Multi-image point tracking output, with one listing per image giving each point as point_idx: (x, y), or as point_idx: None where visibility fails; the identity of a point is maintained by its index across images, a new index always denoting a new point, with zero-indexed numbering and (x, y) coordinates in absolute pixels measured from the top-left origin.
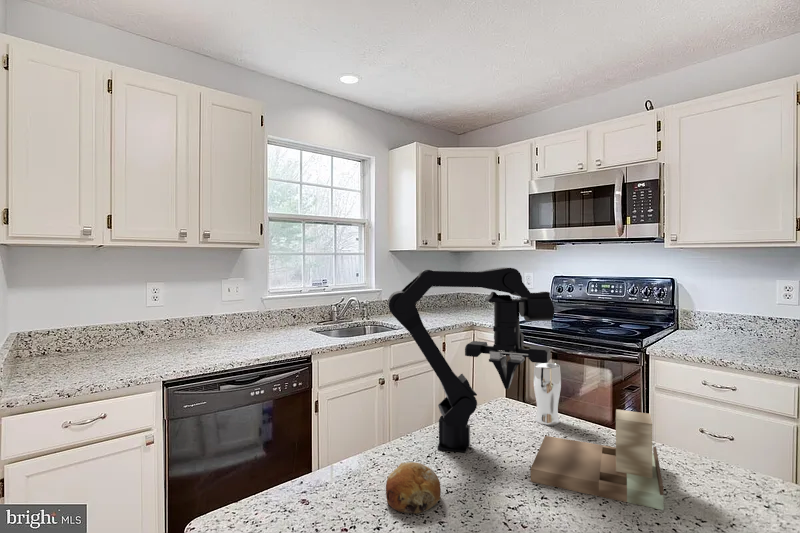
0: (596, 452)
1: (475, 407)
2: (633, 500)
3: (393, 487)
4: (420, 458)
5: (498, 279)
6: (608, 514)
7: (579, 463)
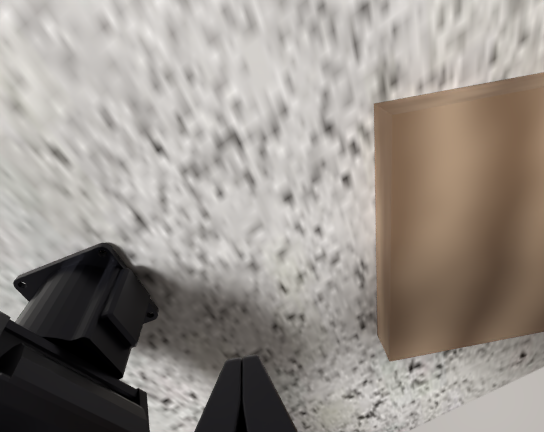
0: None
1: (144, 428)
2: None
3: None
4: None
5: None
6: (532, 348)
7: (516, 270)
